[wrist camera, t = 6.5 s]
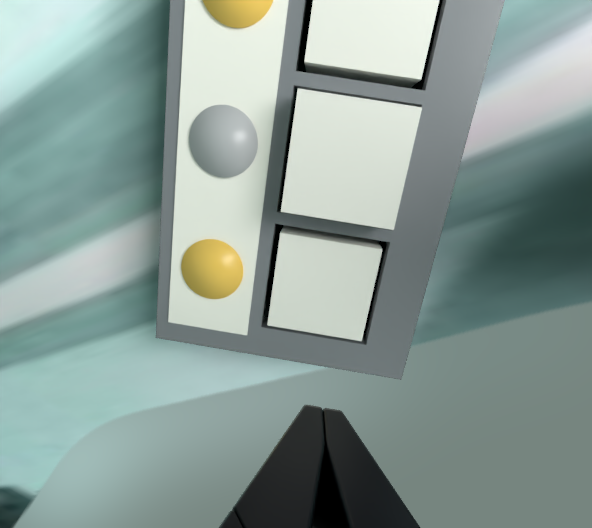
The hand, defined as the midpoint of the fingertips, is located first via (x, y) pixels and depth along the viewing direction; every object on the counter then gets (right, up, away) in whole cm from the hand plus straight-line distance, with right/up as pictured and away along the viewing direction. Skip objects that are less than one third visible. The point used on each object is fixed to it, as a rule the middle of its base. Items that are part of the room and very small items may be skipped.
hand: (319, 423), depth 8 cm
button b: (+2, +8, +8) cm, 11 cm away
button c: (+1, +3, +10) cm, 11 cm away
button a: (+2, +14, +7) cm, 16 cm away
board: (0, +9, +10) cm, 13 cm away
